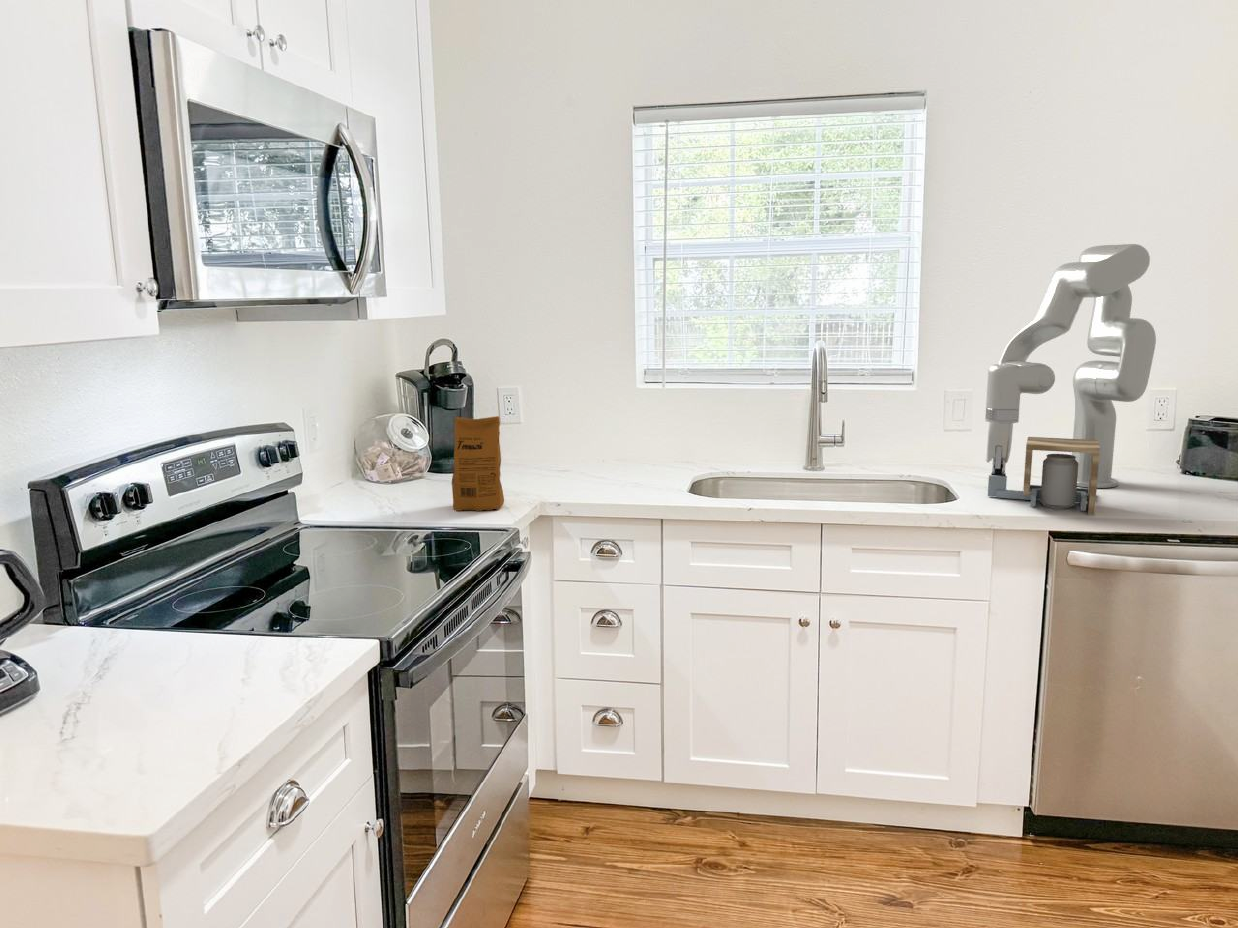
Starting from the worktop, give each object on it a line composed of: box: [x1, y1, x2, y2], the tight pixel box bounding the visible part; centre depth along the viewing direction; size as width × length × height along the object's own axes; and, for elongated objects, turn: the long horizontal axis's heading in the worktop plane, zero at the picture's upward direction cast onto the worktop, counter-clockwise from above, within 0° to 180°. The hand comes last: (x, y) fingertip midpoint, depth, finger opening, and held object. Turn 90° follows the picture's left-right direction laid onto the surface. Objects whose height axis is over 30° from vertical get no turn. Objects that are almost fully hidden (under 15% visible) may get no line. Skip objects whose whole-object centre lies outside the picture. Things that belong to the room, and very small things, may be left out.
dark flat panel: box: [1029, 484, 1088, 499], centre depth 229 cm, size 8×15×1 cm, turn 65°
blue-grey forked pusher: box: [987, 474, 1087, 512], centre depth 220 cm, size 10×21×5 cm, turn 65°
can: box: [1040, 453, 1079, 510], centre depth 217 cm, size 8×8×12 cm
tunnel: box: [1022, 436, 1100, 516], centre depth 216 cm, size 12×15×15 cm
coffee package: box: [451, 415, 505, 512], centre depth 223 cm, size 10×12×22 cm
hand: (997, 489), depth 230 cm, fingers closed
